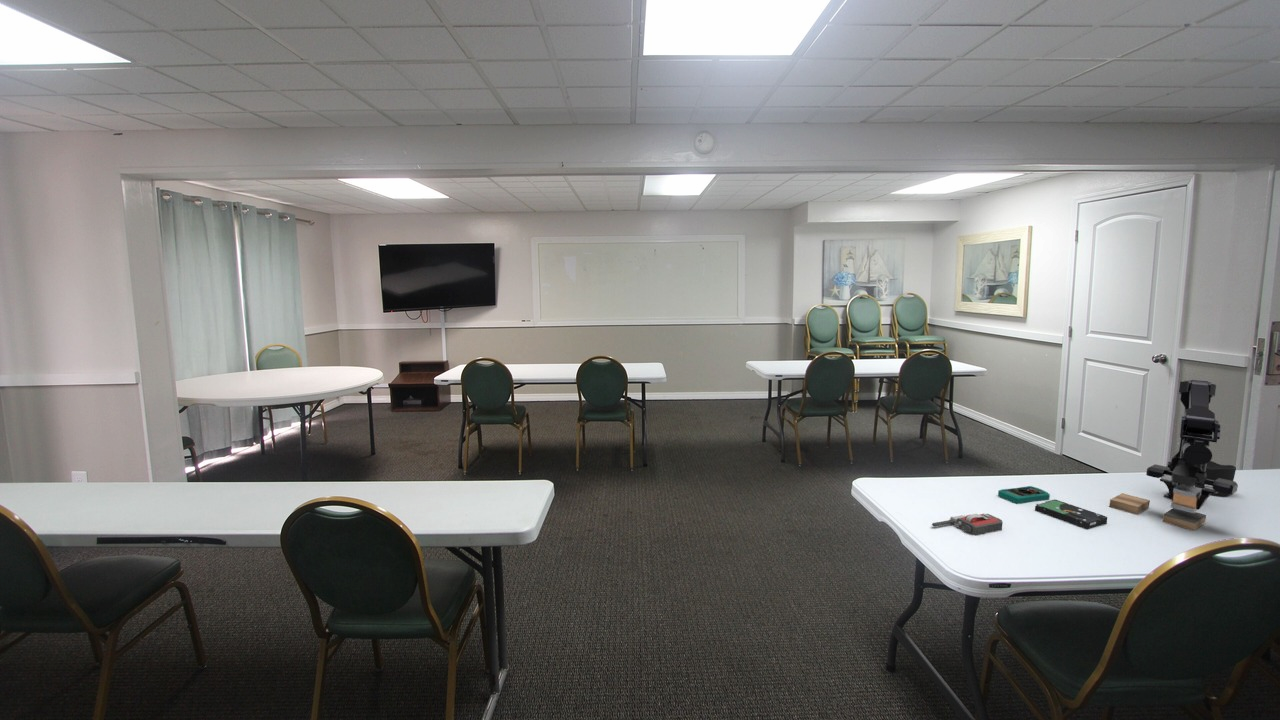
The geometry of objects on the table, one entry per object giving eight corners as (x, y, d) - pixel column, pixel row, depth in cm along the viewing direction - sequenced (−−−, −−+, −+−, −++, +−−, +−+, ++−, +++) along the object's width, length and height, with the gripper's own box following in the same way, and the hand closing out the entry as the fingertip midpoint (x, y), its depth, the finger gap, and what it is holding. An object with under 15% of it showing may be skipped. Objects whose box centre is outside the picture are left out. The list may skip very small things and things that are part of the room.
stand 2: (1173, 514, 173) (1175, 506, 172) (1205, 522, 167) (1206, 514, 167) (1162, 521, 168) (1163, 513, 167) (1194, 530, 162) (1195, 522, 161)
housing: (1178, 502, 171) (1181, 483, 170) (1201, 508, 166) (1204, 489, 165) (1170, 507, 167) (1173, 488, 166) (1193, 513, 163) (1196, 493, 162)
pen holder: (1217, 488, 195) (1222, 461, 193) (1239, 498, 186) (1244, 470, 184) (1185, 486, 197) (1189, 458, 195) (1205, 496, 188) (1210, 467, 186)
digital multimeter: (1051, 500, 184) (1052, 492, 184) (1016, 505, 180) (1017, 496, 180) (1030, 492, 191) (1031, 484, 191) (996, 497, 187) (997, 488, 187)
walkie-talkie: (979, 518, 170) (929, 527, 164) (981, 504, 170) (930, 513, 163) (1006, 530, 162) (954, 540, 156) (1008, 516, 161) (955, 526, 155)
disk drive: (1107, 525, 166) (1053, 506, 180) (1108, 516, 166) (1054, 498, 179) (1086, 531, 162) (1033, 511, 176) (1088, 522, 162) (1034, 503, 175)
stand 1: (1121, 500, 184) (1122, 493, 183) (1148, 507, 178) (1149, 500, 177) (1109, 506, 178) (1110, 499, 178) (1137, 514, 173) (1138, 506, 172)
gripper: (1143, 452, 168) (1136, 501, 170) (1230, 470, 152) (1222, 523, 155) (1156, 446, 174) (1149, 493, 176) (1242, 463, 158) (1233, 514, 160)
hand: (1186, 506), depth 167 cm, fingers closed on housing, 5 cm apart
